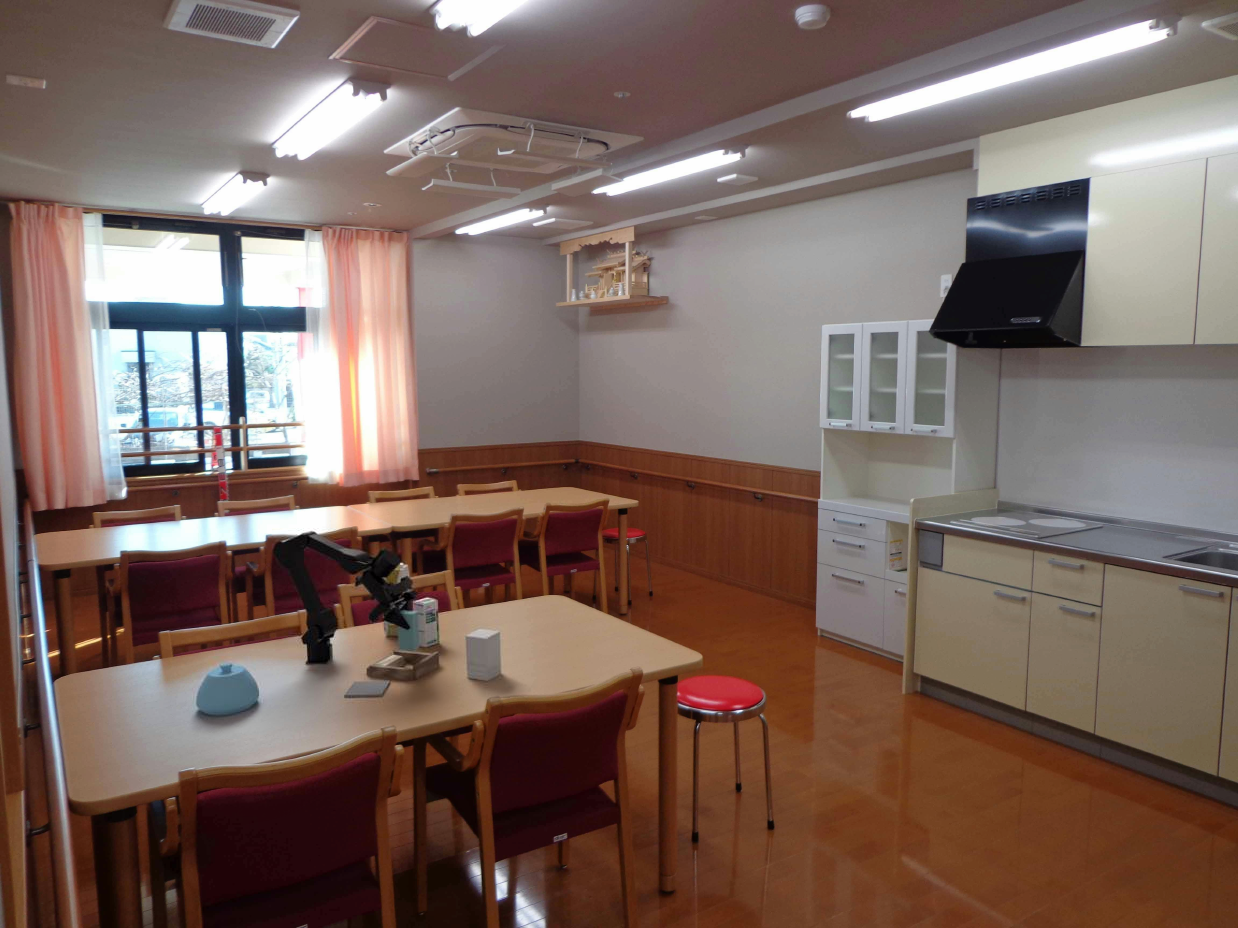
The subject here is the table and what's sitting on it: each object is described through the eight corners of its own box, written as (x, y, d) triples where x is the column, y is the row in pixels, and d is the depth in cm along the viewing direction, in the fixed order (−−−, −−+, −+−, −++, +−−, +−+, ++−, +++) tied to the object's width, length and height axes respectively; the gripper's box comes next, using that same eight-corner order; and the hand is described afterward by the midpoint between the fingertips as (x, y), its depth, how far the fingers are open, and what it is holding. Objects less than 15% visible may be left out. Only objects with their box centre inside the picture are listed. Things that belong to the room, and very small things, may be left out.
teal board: (398, 649, 240) (397, 612, 239) (404, 646, 243) (403, 609, 242) (413, 651, 238) (412, 614, 237) (419, 647, 241) (418, 611, 240)
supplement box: (502, 673, 240) (501, 631, 238) (487, 681, 233) (486, 638, 232) (480, 669, 243) (479, 627, 241) (466, 677, 236) (464, 635, 235)
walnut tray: (365, 675, 238) (365, 661, 238) (392, 659, 252) (391, 646, 252) (415, 680, 234) (415, 667, 233) (440, 664, 247) (439, 651, 247)
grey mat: (344, 697, 222) (344, 695, 222) (354, 683, 232) (354, 681, 232) (381, 696, 223) (381, 694, 223) (390, 682, 233) (390, 680, 233)
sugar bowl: (218, 722, 207) (216, 678, 205) (184, 710, 215) (182, 667, 213) (271, 702, 219) (269, 660, 218) (237, 691, 227) (235, 650, 226)
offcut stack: (374, 674, 240) (374, 664, 240) (393, 663, 250) (392, 653, 249) (388, 676, 239) (387, 666, 238) (406, 664, 248) (406, 654, 248)
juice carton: (405, 637, 273) (403, 566, 271) (382, 637, 273) (379, 566, 271) (413, 628, 283) (410, 560, 280) (390, 628, 283) (387, 560, 280)
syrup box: (425, 647, 263) (424, 603, 261) (413, 644, 266) (412, 600, 265) (439, 642, 267) (438, 599, 266) (427, 639, 271) (426, 596, 269)
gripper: (375, 577, 230) (411, 618, 228) (412, 562, 248) (445, 601, 246) (352, 602, 234) (387, 643, 232) (390, 586, 251) (423, 624, 249)
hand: (412, 627), depth 239 cm, fingers closed on teal board, 3 cm apart
